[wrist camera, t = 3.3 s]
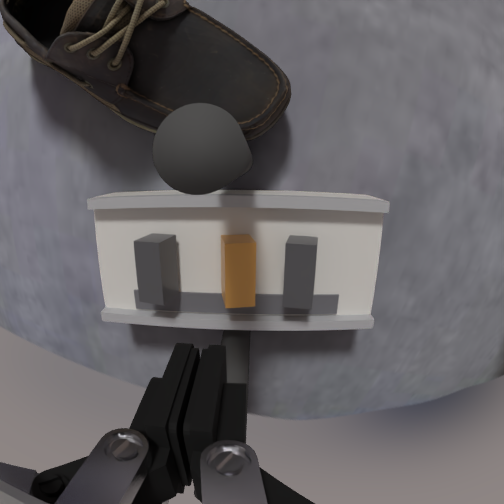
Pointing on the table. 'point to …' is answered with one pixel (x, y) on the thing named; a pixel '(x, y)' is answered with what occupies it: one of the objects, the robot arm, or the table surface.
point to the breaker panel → (267, 256)
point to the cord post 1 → (200, 149)
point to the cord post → (236, 357)
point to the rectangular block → (238, 270)
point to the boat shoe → (151, 58)
